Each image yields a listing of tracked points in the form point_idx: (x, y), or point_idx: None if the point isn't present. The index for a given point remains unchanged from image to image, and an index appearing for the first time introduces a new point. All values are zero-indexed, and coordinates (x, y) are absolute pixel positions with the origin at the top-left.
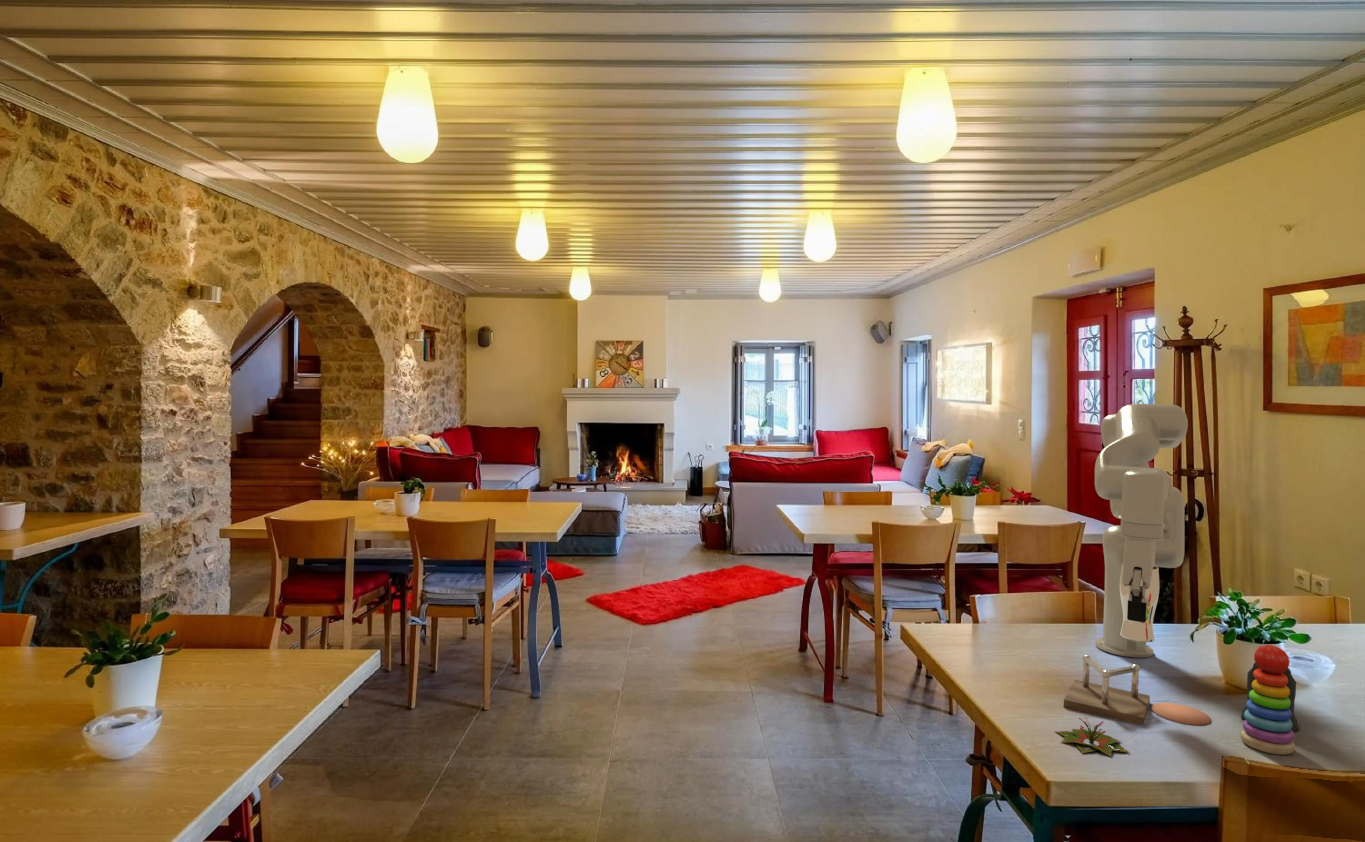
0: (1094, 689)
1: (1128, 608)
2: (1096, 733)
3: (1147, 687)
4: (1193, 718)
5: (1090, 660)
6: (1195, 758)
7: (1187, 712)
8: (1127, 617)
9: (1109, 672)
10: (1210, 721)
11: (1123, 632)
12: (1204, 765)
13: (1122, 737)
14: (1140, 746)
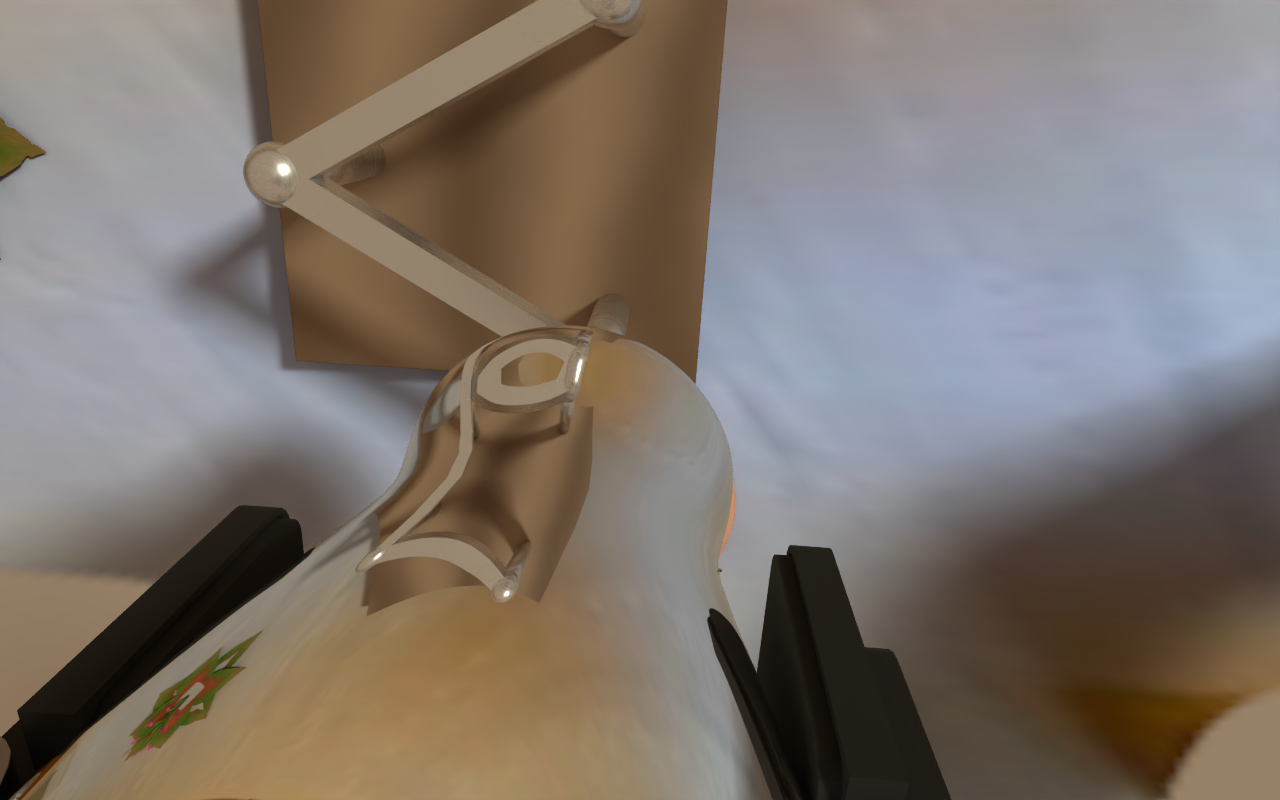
0: (596, 78)
1: (135, 612)
2: (1, 136)
3: (972, 361)
4: None
5: (508, 30)
6: (89, 531)
7: None
8: (234, 515)
9: (273, 202)
10: None
11: (462, 374)
12: (44, 556)
13: (68, 259)
14: (26, 337)
